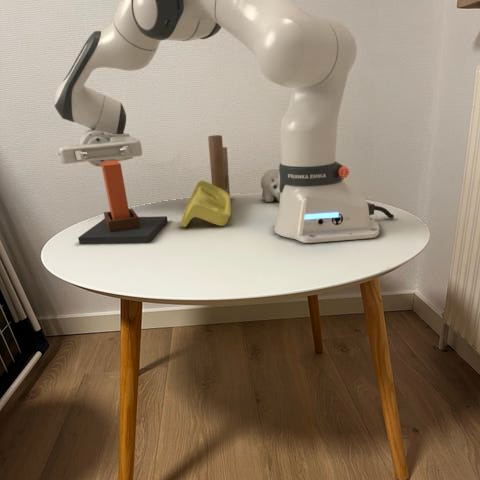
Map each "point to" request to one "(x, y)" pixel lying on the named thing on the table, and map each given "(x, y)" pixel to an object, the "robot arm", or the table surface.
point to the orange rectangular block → (115, 189)
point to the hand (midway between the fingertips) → (104, 154)
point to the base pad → (124, 229)
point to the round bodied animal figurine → (270, 185)
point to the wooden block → (218, 163)
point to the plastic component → (208, 205)
